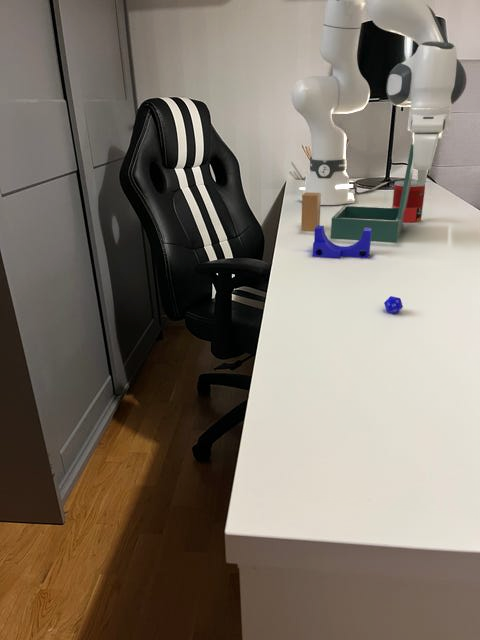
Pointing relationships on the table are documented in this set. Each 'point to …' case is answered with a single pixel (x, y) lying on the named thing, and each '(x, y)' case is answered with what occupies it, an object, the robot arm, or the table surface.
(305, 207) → the carton
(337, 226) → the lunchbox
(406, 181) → the lid
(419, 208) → the canned food
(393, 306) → the die
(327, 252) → the blue curved bracket
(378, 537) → the table surface
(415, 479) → the table surface
